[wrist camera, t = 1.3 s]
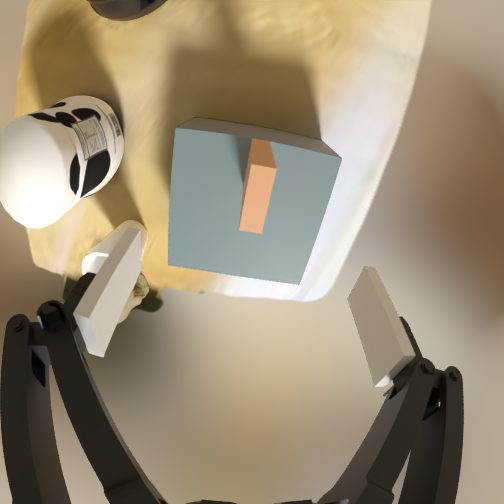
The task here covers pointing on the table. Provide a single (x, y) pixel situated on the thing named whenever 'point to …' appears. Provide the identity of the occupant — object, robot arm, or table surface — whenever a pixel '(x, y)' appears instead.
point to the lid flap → (246, 204)
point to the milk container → (58, 158)
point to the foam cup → (111, 246)
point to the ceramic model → (135, 296)
